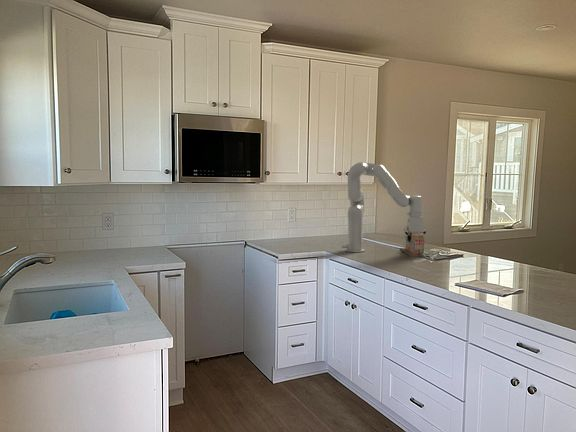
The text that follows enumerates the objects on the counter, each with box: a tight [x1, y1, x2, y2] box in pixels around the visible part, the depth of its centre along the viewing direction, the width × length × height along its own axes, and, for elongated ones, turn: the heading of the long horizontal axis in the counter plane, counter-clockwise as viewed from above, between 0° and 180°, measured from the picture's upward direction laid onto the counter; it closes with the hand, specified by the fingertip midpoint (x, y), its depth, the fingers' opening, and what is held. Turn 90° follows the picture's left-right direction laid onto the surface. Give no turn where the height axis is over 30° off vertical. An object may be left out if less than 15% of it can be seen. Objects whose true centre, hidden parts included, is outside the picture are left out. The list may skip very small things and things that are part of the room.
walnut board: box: [400, 247, 425, 258], centre depth 304 cm, size 12×27×1 cm, turn 2°
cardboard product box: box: [405, 232, 425, 254], centre depth 304 cm, size 21×6×12 cm, turn 1°
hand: (415, 241), depth 303 cm, fingers open, 7 cm apart
